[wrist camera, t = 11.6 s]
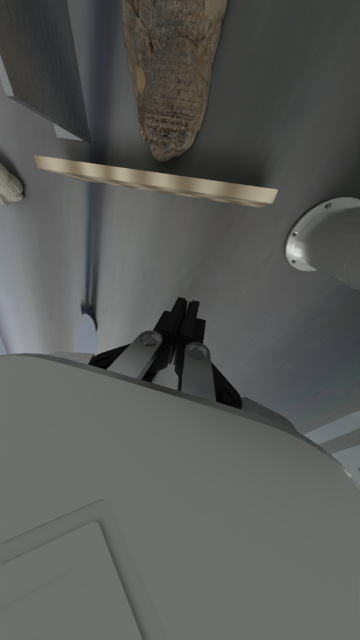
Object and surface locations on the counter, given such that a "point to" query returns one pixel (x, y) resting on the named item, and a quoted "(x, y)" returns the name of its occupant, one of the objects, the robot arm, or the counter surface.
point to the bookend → (42, 63)
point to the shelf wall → (160, 182)
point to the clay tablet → (171, 67)
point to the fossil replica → (9, 187)
